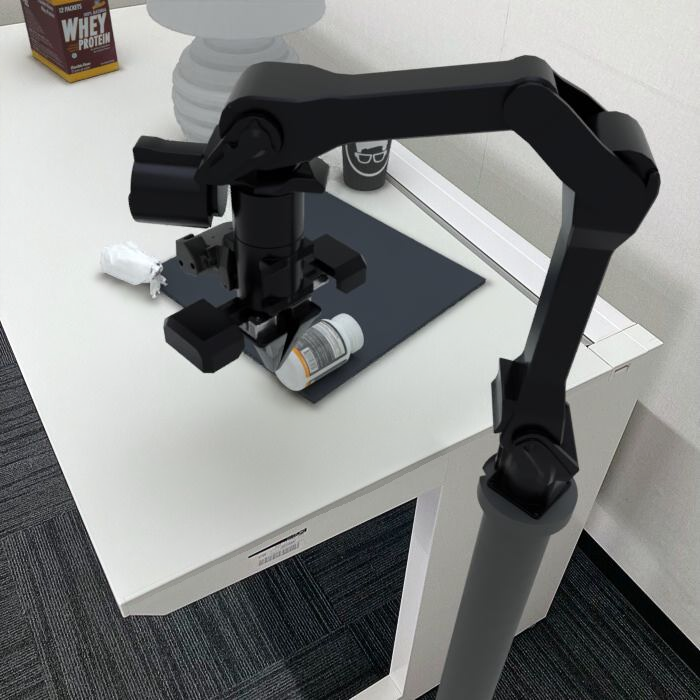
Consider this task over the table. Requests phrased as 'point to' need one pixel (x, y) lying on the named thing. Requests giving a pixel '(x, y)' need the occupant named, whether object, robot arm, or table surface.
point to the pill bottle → (320, 351)
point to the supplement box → (71, 36)
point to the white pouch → (132, 265)
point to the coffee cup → (365, 164)
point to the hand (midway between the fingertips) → (272, 368)
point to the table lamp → (226, 49)
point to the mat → (368, 299)
